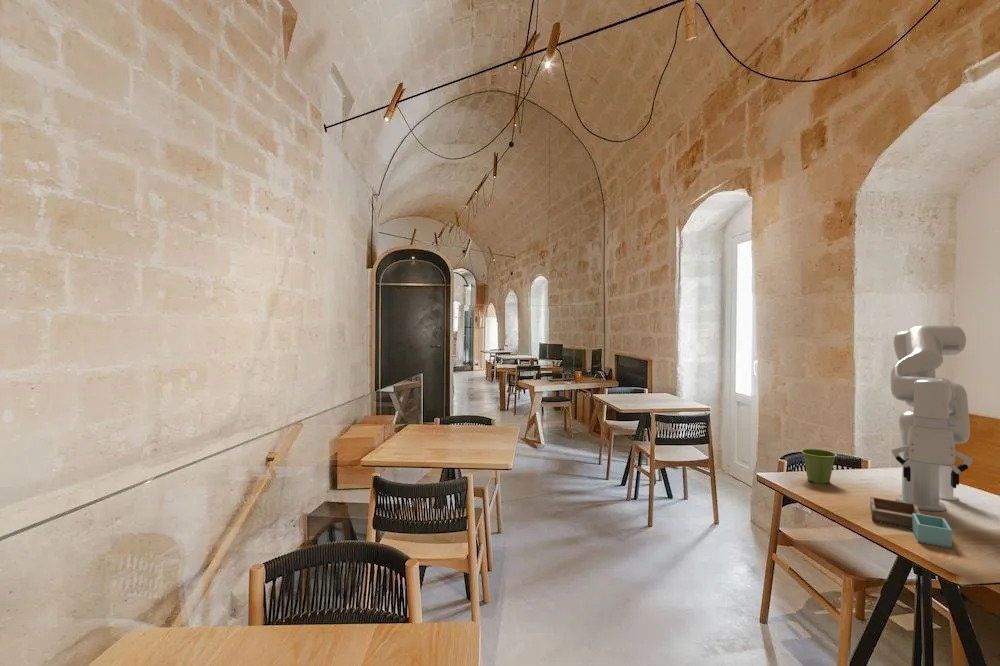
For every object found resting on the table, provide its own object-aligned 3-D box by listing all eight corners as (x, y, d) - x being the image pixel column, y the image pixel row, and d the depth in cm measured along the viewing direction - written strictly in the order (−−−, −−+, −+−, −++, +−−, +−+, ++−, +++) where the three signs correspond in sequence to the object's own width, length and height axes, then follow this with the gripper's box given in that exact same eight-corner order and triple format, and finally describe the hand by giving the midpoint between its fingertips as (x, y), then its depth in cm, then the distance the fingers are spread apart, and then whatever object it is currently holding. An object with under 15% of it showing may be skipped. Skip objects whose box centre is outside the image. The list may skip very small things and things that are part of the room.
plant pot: (794, 476, 194) (794, 448, 194) (823, 476, 194) (823, 448, 194) (813, 486, 182) (813, 456, 182) (844, 486, 182) (844, 456, 182)
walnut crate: (870, 507, 160) (870, 496, 160) (916, 515, 154) (916, 504, 154) (872, 521, 149) (872, 510, 148) (922, 530, 142) (922, 518, 142)
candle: (930, 492, 175) (931, 423, 175) (957, 496, 171) (958, 426, 170) (931, 497, 170) (932, 426, 170) (959, 502, 165) (960, 429, 165)
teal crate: (912, 529, 142) (912, 512, 142) (944, 535, 138) (944, 518, 138) (917, 542, 134) (917, 524, 134) (951, 548, 130) (951, 530, 130)
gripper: (970, 424, 135) (969, 486, 135) (890, 418, 145) (890, 475, 145) (976, 429, 129) (975, 493, 129) (892, 421, 139) (892, 481, 139)
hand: (930, 483), depth 137 cm, fingers open, 9 cm apart
